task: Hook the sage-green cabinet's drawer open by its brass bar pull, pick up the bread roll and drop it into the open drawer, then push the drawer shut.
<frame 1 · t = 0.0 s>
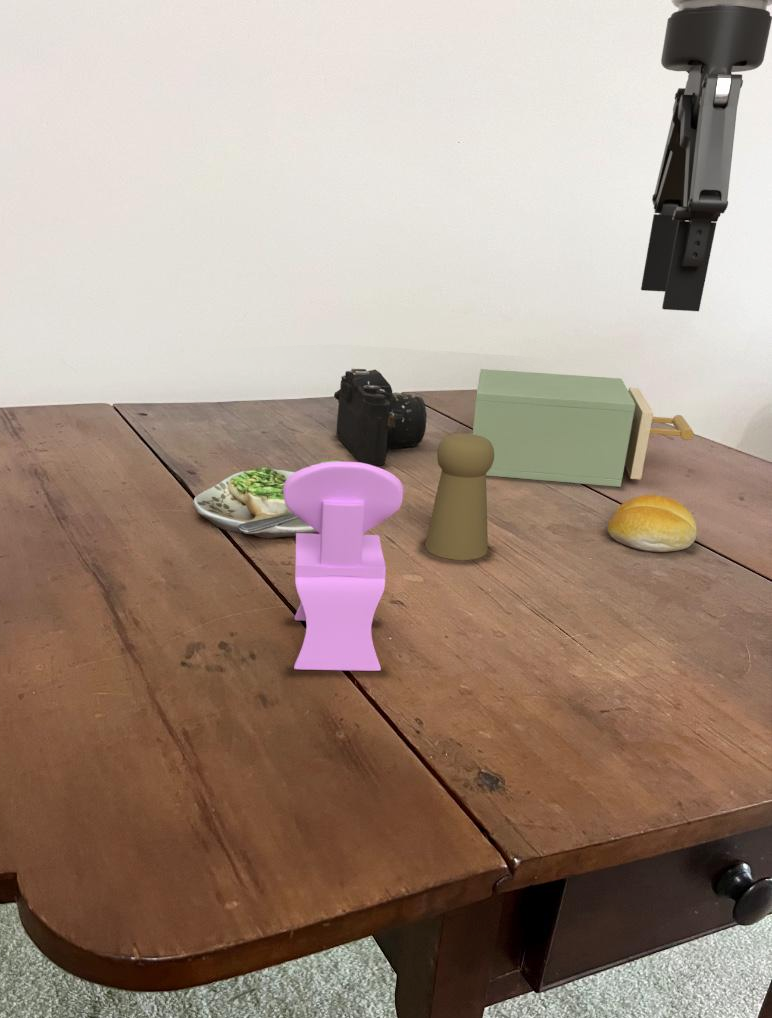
hand: (667, 300, 79), 23 cm above the table, tool pointing down, fingers open, 13 cm apart
drawer: (593, 428, 113), point 5 cm above the table, slide at 1.0 cm
cork: (456, 549, 89), on the table
toy chair: (335, 644, 70), on the table
film camera: (377, 449, 120), on the table
salad plate: (287, 512, 97), on the table
bread roll: (648, 539, 93), on the table
cabinet: (541, 463, 116), on the table
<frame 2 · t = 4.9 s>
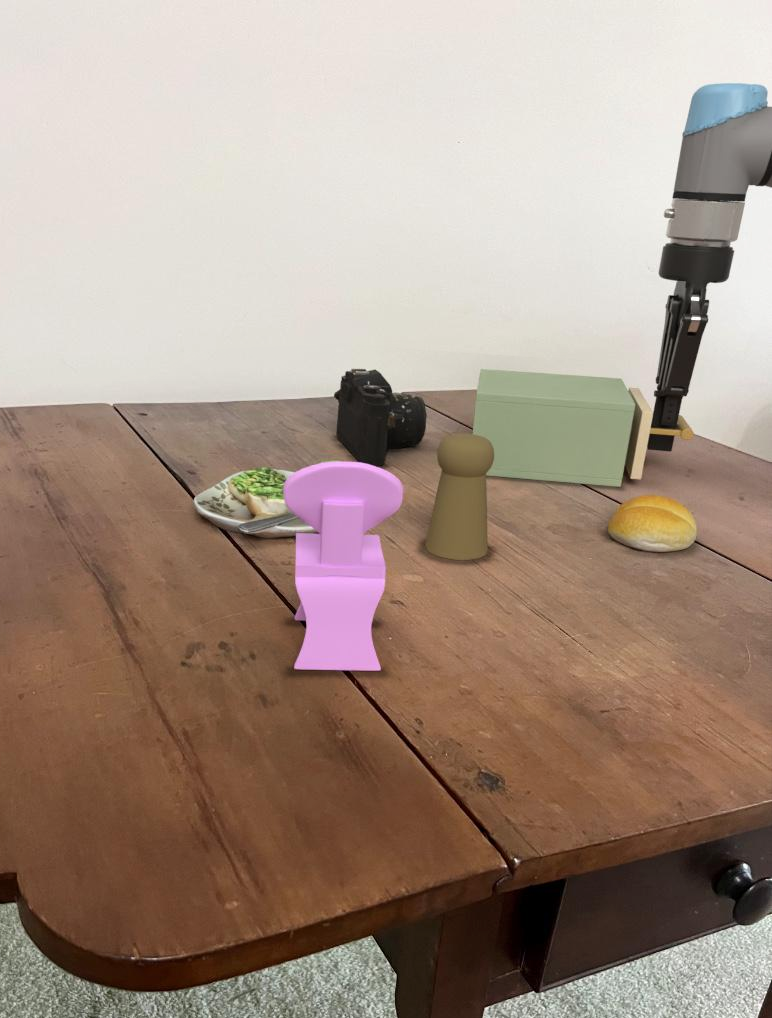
hand: (659, 448, 112), 3 cm above the table, tool pointing down, fingers closed
drawer: (593, 428, 113), point 5 cm above the table, slide at 1.0 cm, touching gripper
everything else where it was.
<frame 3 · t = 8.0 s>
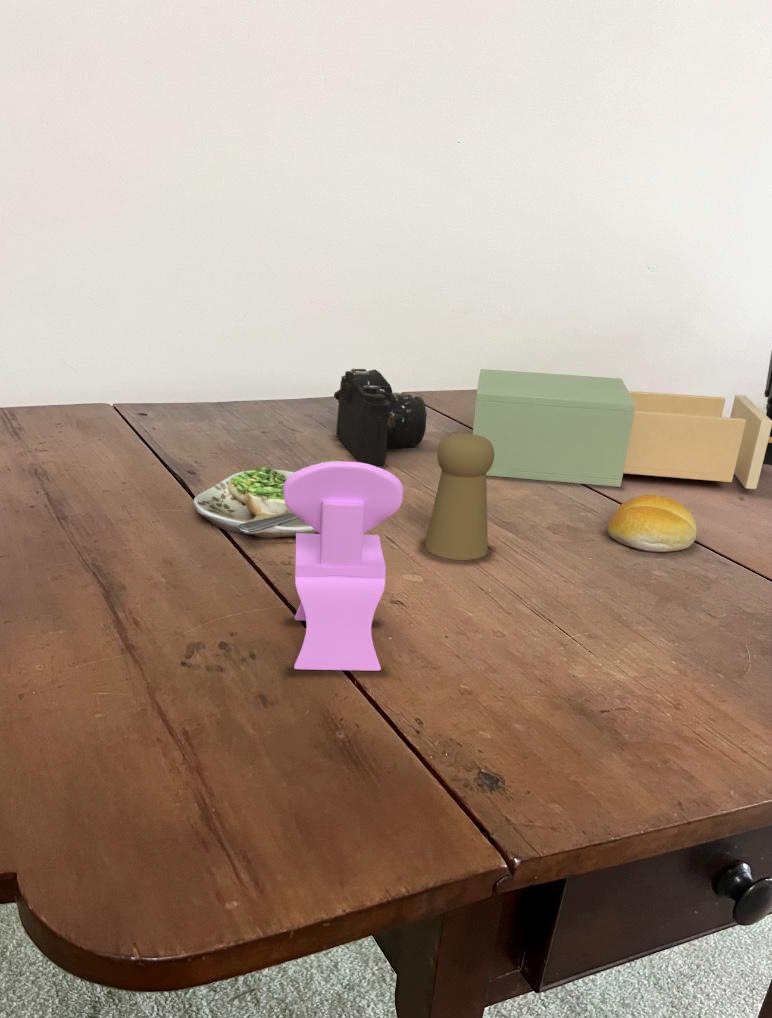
hand: (768, 463, 111), 2 cm above the table, tool pointing down, fingers closed
drawer: (702, 436, 111), point 5 cm above the table, slide at 13.8 cm
everything else where it was.
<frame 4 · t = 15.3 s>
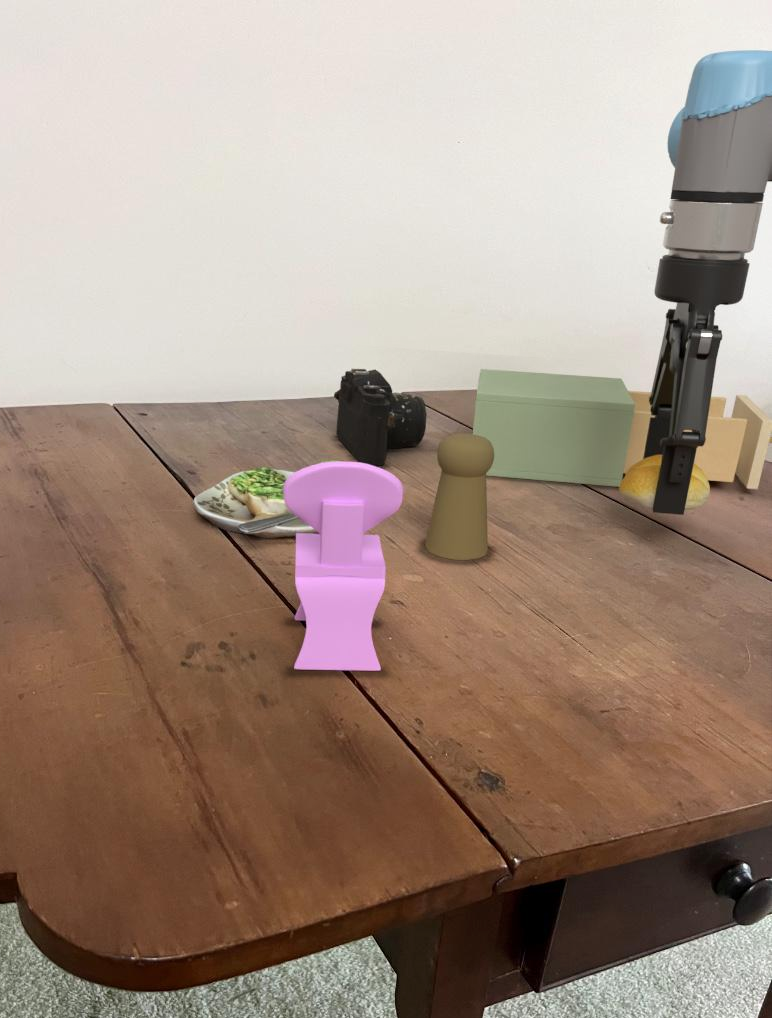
hand: (660, 495, 91), 4 cm above the table, tool pointing down, fingers closed on bread roll, 9 cm apart
bread roll: (661, 500, 91), point 4 cm above the table, touching gripper
everything else where it was.
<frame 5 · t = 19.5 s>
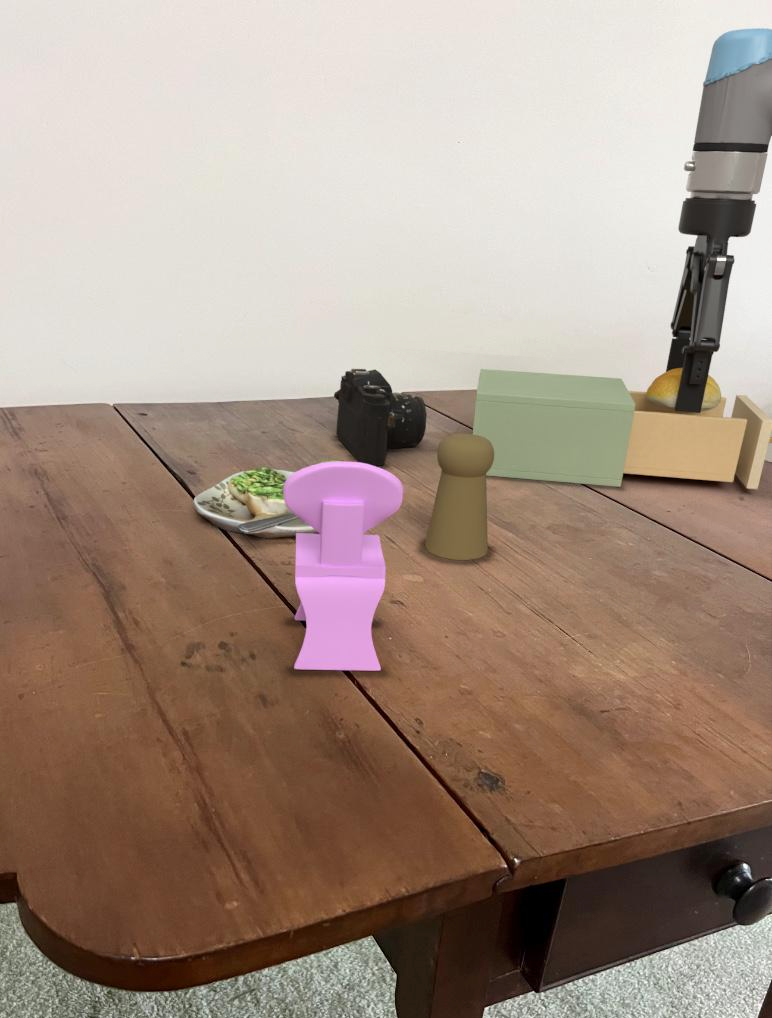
hand: (680, 401, 110), 9 cm above the table, tool pointing down, fingers closed on bread roll, 9 cm apart
bread roll: (680, 405, 110), point 8 cm above the table, touching gripper
everything else where it was.
when the fingers open (9 cm above the table, at t = 24.2 s): bread roll drops 7 cm, resting on drawer.
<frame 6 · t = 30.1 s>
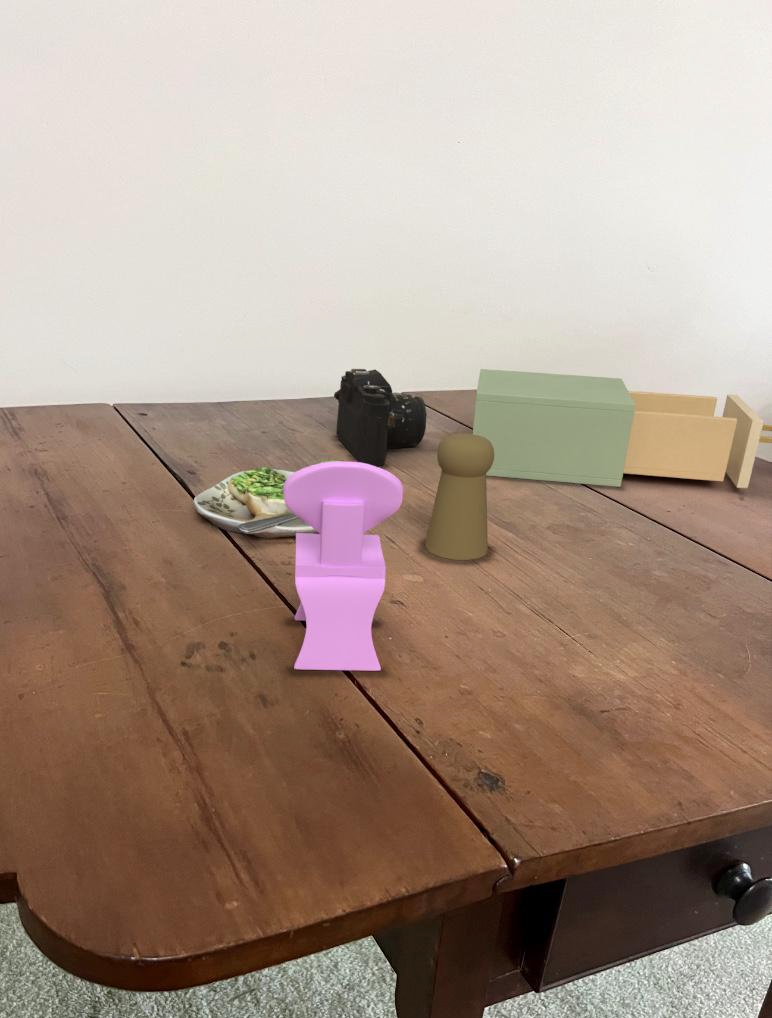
drawer: (694, 436, 111), point 5 cm above the table, slide at 12.9 cm, touching bread roll, gripper
bread roll: (660, 457, 113), point 2 cm above the table, touching drawer
everything else where it was.
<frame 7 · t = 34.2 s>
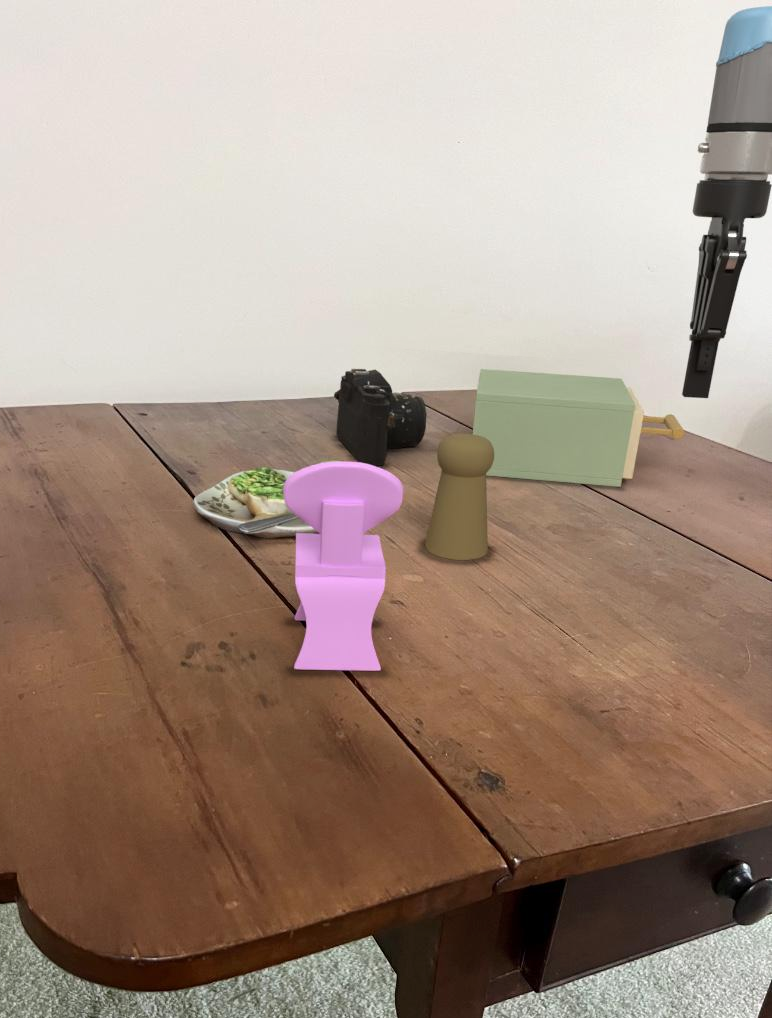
hand: (694, 396, 109), 10 cm above the table, tool pointing down, fingers closed
drawer: (584, 427, 113), point 5 cm above the table, slide at 0.0 cm, touching bread roll, cabinet
bread roll: (553, 449, 115), point 2 cm above the table, touching drawer
everything else where it was.
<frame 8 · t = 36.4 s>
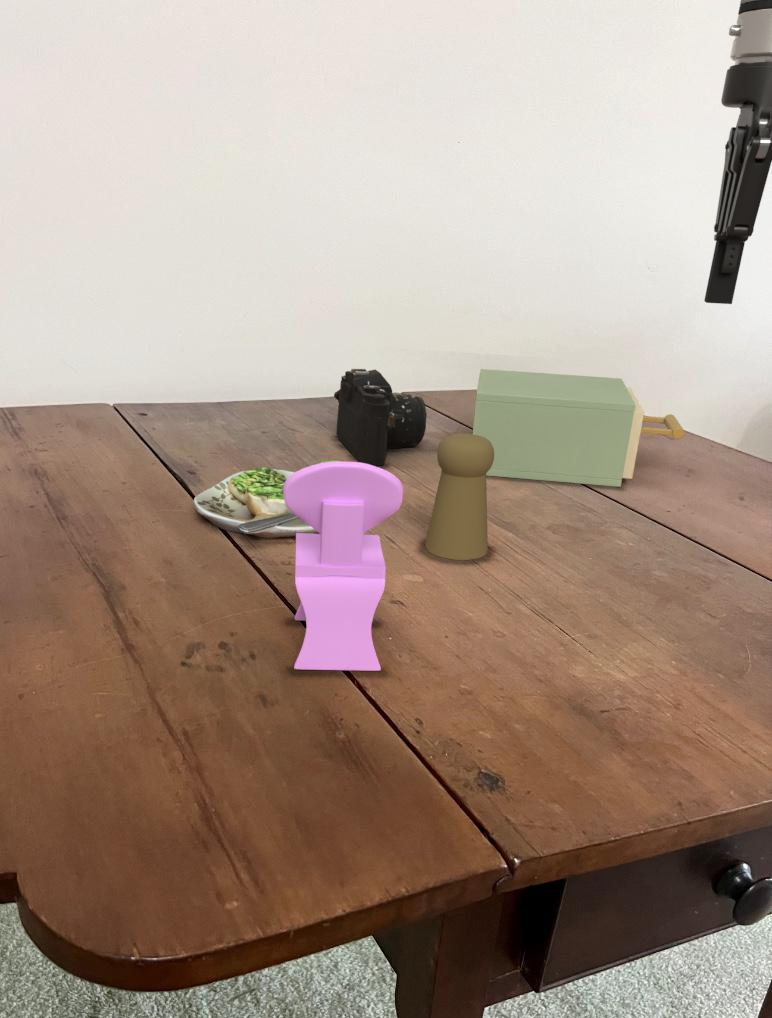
hand: (717, 302, 104), 20 cm above the table, tool pointing down, fingers closed
drawer: (584, 427, 113), point 5 cm above the table, slide at 0.0 cm, touching bread roll
everything else where it was.
at the end: drawer pulled out 14.0 cm at the most during the clip, back to where it started at the end; bread roll inside the target area in the cabinet (1.2 cm from its centre), point 1.9 cm above the cabinet's base; drawer slide at 0.0 cm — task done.
